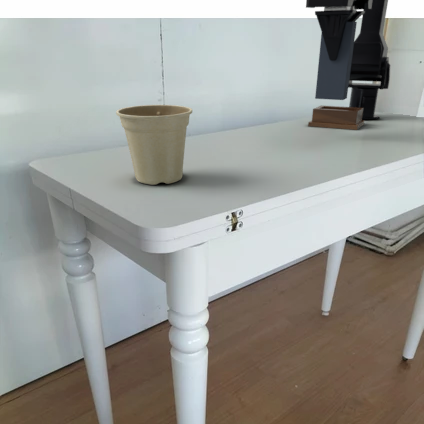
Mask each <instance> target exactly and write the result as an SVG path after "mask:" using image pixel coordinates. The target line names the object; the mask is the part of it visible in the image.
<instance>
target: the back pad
mask: <svg viewBox="0 0 424 424" xmlns="http://www.w3.org/2000/svg"><path fill="white" fill-rule="evenodd" d="M357 23H358V22H357V21H355V22H347V23H346V26H345V30H344V34H343V38H342V42H341V46H340V50H339V53H338V57H337V60H335V61H331V60H330V59H329V56H328V52H327V49H326V45H325V42H324V38H323V35H322V32H321V35H320V44H319V54H318V65H317V75H316V76H317V77H316V84H315V85H316V86H315V95H314V99H315V100H331V101H344V100H346V99H348V93H349V92H348V91H349V88H348V85H349V78H350V70H351V62H352V55H353V47H354V41H355V40H356V32H357V31H356V30H357Z"/></svg>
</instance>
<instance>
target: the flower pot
mask: <svg viewBox="0 0 424 424" xmlns="http://www.w3.org/2000/svg"><path fill="white" fill-rule="evenodd" d="M192 113H193V108H191V107H189V106H184V105H177V104H176V105H175V104H145V105H143V104H141V105H132V106H126V107H122V108H119V109H117V110H116V111H115V114H116V116H118V117H119V120H120V124H121V126H122V128H123V130H124V133H125V138H126V142H127V146H128V150H129V154H130V159H131V163H132V167H133V172H134V177H135V179H136V181H138V182H139V183H141V184H146V185H152V186H155V185H158V184H160V183H165V184H166V185H170V184H174V183H176V182H178V181H181V180H182V178H183V174H184V171H183V170H184V159H185V148H186V138H187V129H188V128H187V127H188V126H189V124H190V115H192Z"/></svg>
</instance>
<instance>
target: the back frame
mask: <svg viewBox="0 0 424 424" xmlns="http://www.w3.org/2000/svg"><path fill="white" fill-rule="evenodd" d="M362 115H363V108H358V107H349V106H339V105H338V106H337V105H318V106H317V107H314V108H312V117H311V120H310V121H308V124H307V127H314V128H326V129H327V128H329V129H341V130H354V131H357V130H359V129H360V128H361V127H362V126H364V125H365V120H366V119H362Z"/></svg>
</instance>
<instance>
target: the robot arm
mask: <svg viewBox="0 0 424 424" xmlns="http://www.w3.org/2000/svg"><path fill="white" fill-rule="evenodd" d="M388 3H389V0H306V3H305V4H306V5H305V8H308V9H315V8H323V10H315V11H314V15H315V16H316V19H317V22H318V24H319V28H320V31H321V33H322V35H323V38H324V42H325V45H326V49H327V52H328V56H329V59H330V60H331V61H335V60H337V57H338V53H339V50H340V46H341V42H342V38H343V34H344V30H345V26H346V23H347V22H357V20H358V19H359V18H360V17H361V16H362V17H361V23H360V31H359V34H358V35H357V37H355V39H354V47H353V55H352V62H351V70H350V78H349V85H348V89H351V90H350V96H349V97H350V98H349V105H348V107H358V108H363V115H362V120H380V119H381V116H380V115H378V114H375V113H376V107H377V101H378V96H379V90H388V89H389V86H390V80H391V64H390V58H389V56H388V52H389V47H388V44H387V42H386V39H385V36H384V28H385V22H386V16H387V11H388V10H387V8H388V5H389V4H388ZM367 82H369V83H367ZM371 82H378V83H371ZM379 82H380V83H379Z"/></svg>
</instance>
